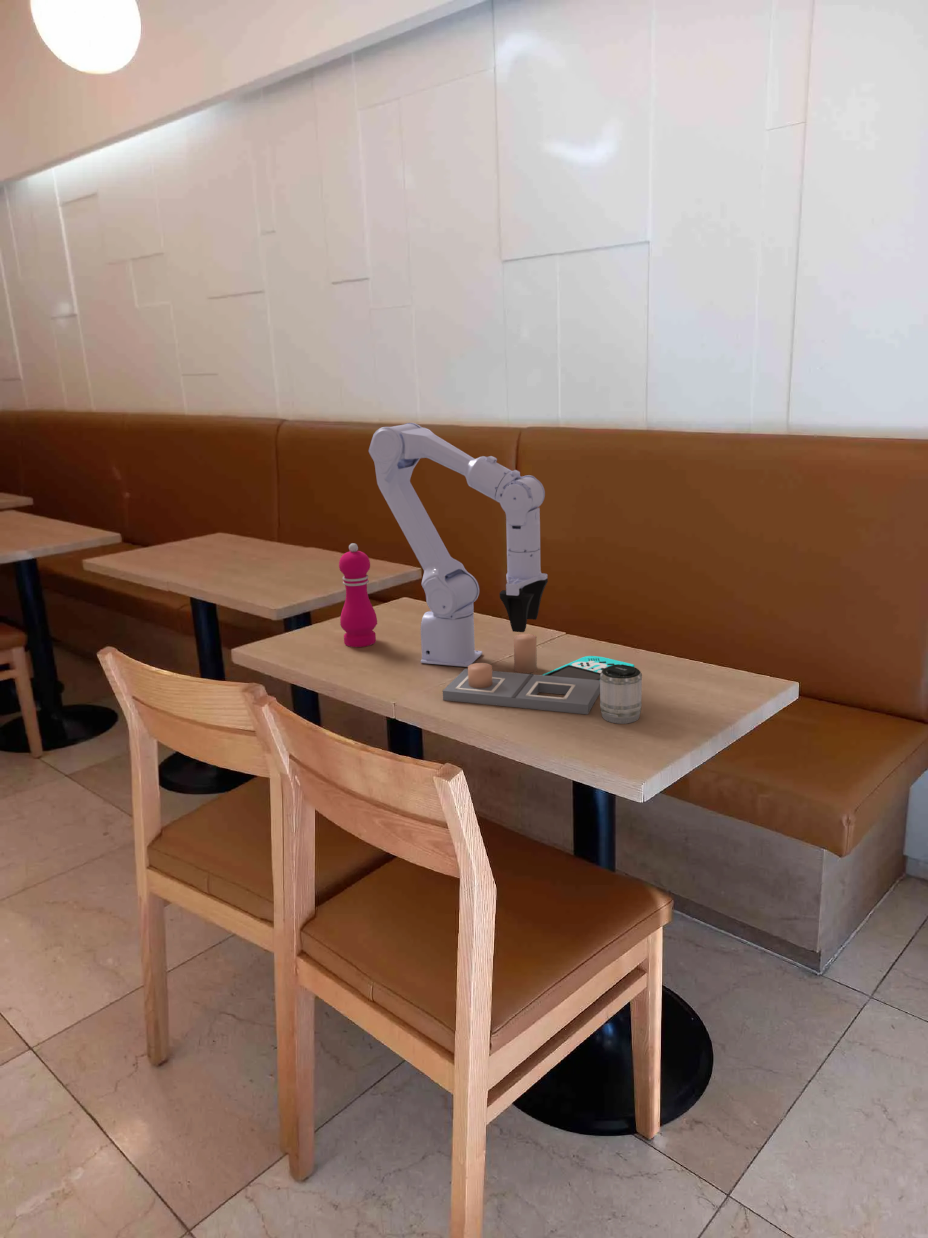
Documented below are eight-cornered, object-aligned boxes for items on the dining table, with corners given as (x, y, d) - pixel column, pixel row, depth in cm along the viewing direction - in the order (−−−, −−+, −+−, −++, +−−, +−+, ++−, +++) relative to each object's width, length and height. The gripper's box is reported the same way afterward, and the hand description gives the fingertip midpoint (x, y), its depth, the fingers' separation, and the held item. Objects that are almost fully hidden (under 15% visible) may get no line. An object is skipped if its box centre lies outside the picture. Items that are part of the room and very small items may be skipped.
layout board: (443, 700, 148) (441, 673, 147) (465, 677, 158) (464, 652, 157) (587, 714, 140) (587, 686, 139) (601, 689, 150) (602, 663, 149)
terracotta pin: (511, 672, 160) (510, 639, 158) (518, 664, 163) (517, 633, 161) (533, 674, 158) (532, 641, 157) (539, 666, 162) (539, 634, 160)
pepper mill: (358, 634, 184) (351, 538, 178) (386, 640, 180) (379, 541, 174) (334, 644, 178) (326, 545, 173) (361, 650, 174) (354, 548, 168)
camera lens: (613, 706, 143) (613, 659, 141) (648, 714, 139) (649, 666, 137) (592, 718, 138) (592, 670, 136) (628, 728, 135) (629, 678, 132)
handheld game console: (636, 671, 159) (636, 663, 159) (581, 697, 148) (581, 689, 148) (590, 659, 166) (590, 652, 166) (534, 684, 155) (534, 676, 155)
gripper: (534, 559, 147) (536, 639, 150) (556, 541, 160) (557, 614, 164) (493, 557, 149) (495, 636, 153) (518, 539, 162) (519, 612, 166)
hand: (524, 625), depth 158 cm, fingers open, 7 cm apart
